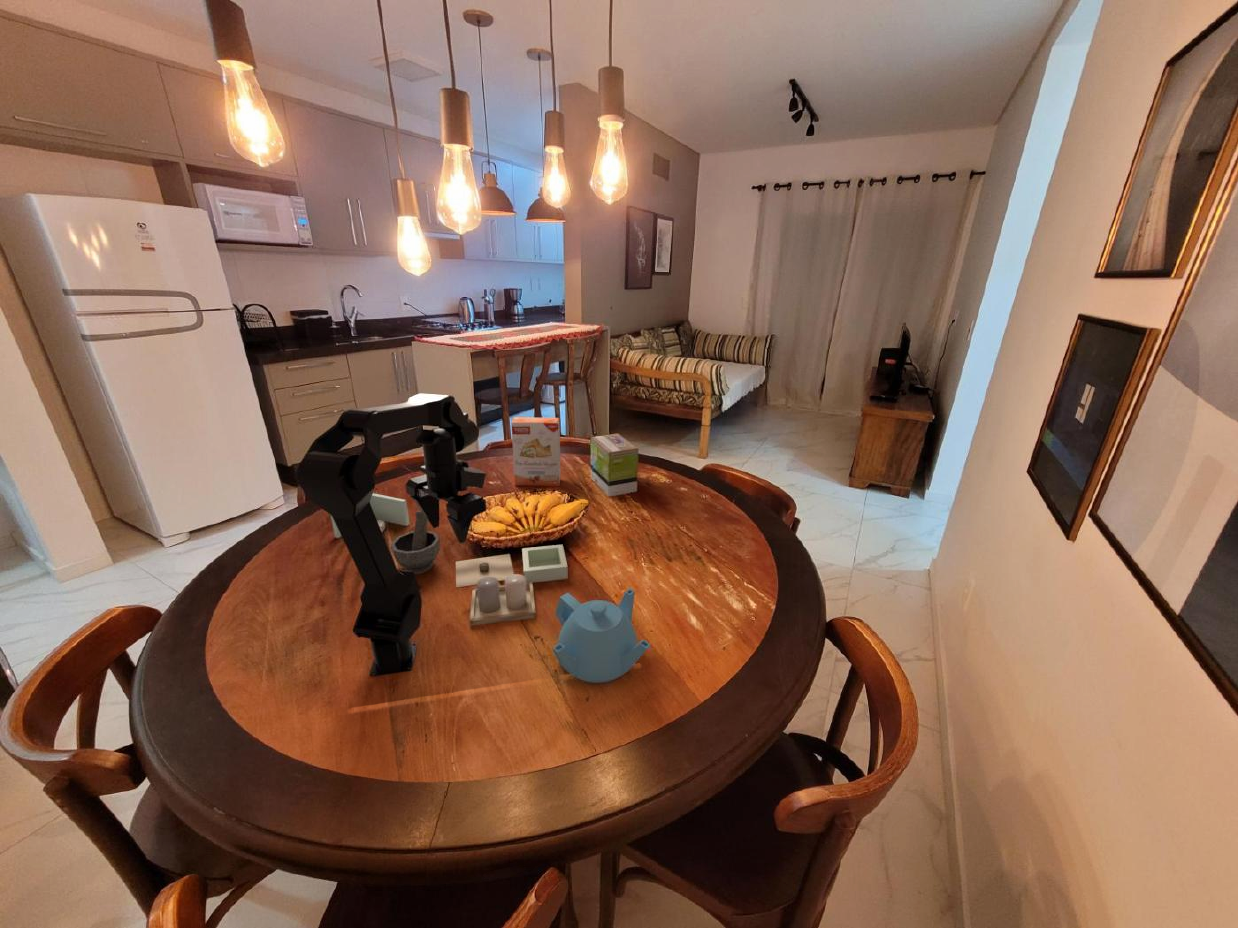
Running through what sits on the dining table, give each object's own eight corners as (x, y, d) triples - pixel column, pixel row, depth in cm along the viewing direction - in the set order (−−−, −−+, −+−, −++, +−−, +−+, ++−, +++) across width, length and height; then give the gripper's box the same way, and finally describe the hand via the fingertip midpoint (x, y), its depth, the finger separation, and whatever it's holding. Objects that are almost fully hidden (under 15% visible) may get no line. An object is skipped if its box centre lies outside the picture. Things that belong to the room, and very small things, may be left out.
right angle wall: (335, 539, 118) (329, 512, 115) (373, 517, 129) (368, 492, 126) (374, 548, 115) (369, 520, 112) (410, 525, 125) (406, 499, 122)
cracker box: (514, 486, 148) (510, 421, 141) (517, 479, 154) (513, 416, 146) (559, 486, 149) (558, 422, 141) (561, 479, 155) (559, 416, 147)
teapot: (636, 625, 91) (638, 577, 87) (649, 688, 77) (652, 634, 73) (555, 629, 89) (553, 581, 86) (553, 694, 76) (551, 640, 72)
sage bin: (567, 580, 104) (567, 566, 102) (524, 585, 102) (523, 571, 100) (562, 557, 112) (562, 544, 111) (522, 561, 110) (522, 548, 109)
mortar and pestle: (432, 581, 102) (425, 532, 98) (388, 580, 102) (379, 531, 98) (450, 553, 113) (444, 507, 108) (410, 552, 113) (403, 506, 108)
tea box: (589, 479, 155) (589, 435, 150) (617, 474, 159) (618, 432, 154) (608, 497, 143) (608, 451, 137) (638, 492, 147) (639, 447, 141)
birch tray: (535, 619, 92) (535, 612, 91) (470, 627, 89) (469, 620, 88) (532, 588, 101) (532, 581, 100) (473, 595, 98) (472, 588, 98)
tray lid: (514, 580, 103) (514, 573, 102) (456, 589, 100) (455, 582, 99) (509, 556, 112) (509, 549, 111) (455, 563, 108) (455, 557, 108)
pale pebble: (527, 608, 94) (526, 584, 92) (506, 610, 93) (504, 587, 91) (526, 595, 98) (525, 573, 96) (506, 598, 97) (504, 575, 95)
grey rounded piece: (500, 611, 93) (498, 588, 91) (478, 614, 92) (476, 590, 90) (500, 598, 96) (498, 575, 94) (479, 601, 96) (477, 578, 94)
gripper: (507, 461, 90) (511, 535, 95) (450, 440, 101) (457, 507, 106) (455, 478, 82) (463, 557, 87) (399, 453, 93) (409, 525, 98)
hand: (449, 534), depth 95 cm, fingers open, 9 cm apart
